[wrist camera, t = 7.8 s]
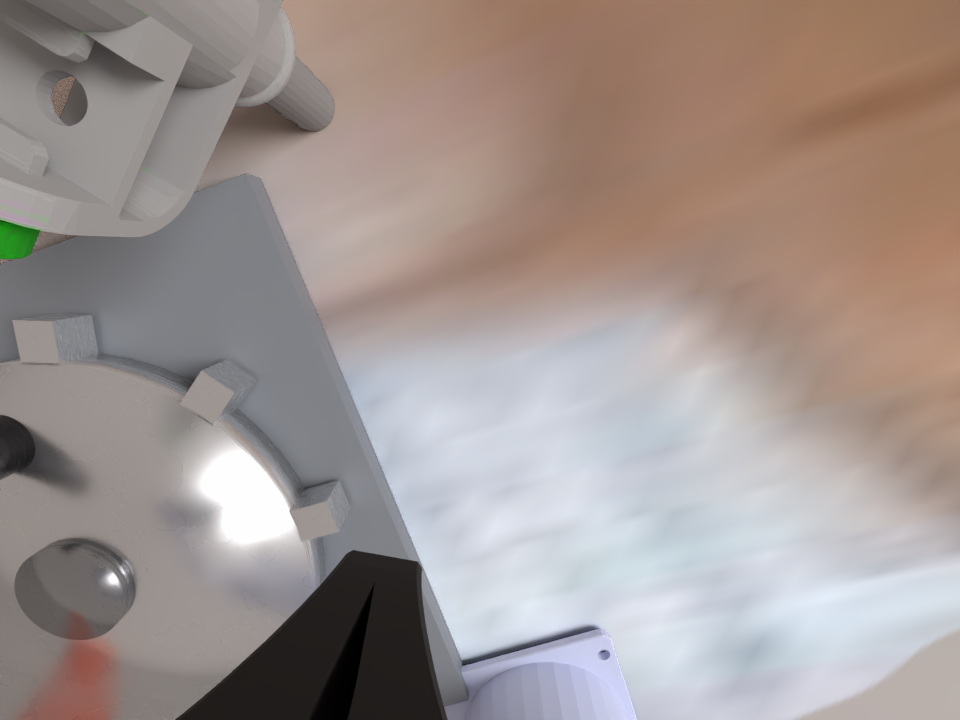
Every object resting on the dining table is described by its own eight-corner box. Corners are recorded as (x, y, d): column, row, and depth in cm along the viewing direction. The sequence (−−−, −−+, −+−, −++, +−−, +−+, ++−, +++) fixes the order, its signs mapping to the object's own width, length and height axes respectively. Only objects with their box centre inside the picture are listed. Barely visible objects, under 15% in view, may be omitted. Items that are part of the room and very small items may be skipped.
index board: (469, 678, 21) (468, 713, 19) (-3, 807, 22) (-39, 849, 21) (260, 178, 16) (236, 170, 14) (-322, 392, 18) (-400, 406, 16)
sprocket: (420, 684, 19) (404, 805, 15) (17, 780, 20) (-103, 918, 16) (249, 253, 15) (161, 254, 11) (-241, 405, 16) (-489, 459, 12)
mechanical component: (203, 217, 16) (-222, 169, 6) (345, -82, 14) (41, -828, 4) (281, 264, 16) (-10, 287, 7) (430, -21, 14) (326, -579, 5)
